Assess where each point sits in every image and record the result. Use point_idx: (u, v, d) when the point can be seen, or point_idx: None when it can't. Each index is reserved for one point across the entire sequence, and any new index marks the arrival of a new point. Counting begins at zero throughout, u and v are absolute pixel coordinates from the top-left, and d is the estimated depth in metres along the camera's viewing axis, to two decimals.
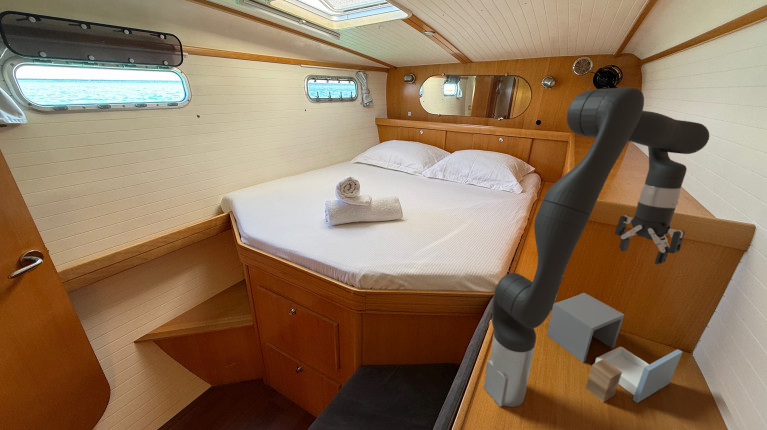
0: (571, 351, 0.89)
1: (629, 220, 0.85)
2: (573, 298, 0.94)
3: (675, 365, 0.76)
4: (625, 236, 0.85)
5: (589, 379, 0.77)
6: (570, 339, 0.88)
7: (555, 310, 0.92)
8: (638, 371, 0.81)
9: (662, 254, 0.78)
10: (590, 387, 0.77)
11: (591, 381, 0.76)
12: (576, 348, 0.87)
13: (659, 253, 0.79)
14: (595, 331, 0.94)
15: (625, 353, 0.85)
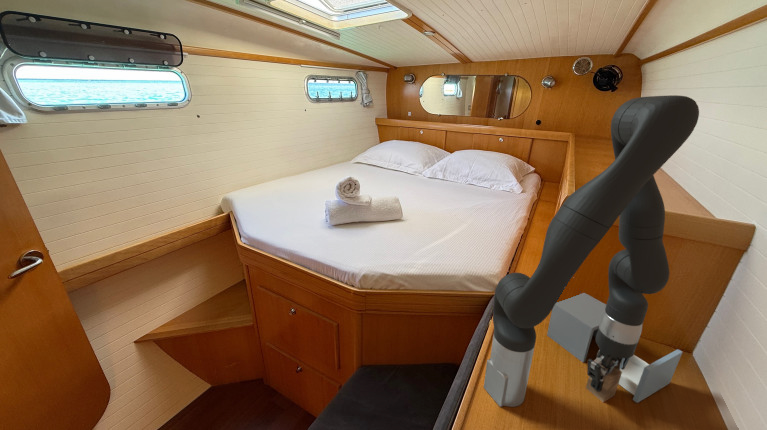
0: (571, 351, 0.89)
1: (600, 362, 0.71)
2: (573, 298, 0.94)
3: (675, 365, 0.76)
4: (604, 377, 0.72)
5: (589, 379, 0.77)
6: (570, 339, 0.88)
7: (555, 310, 0.92)
8: (638, 371, 0.81)
9: None
10: (590, 387, 0.77)
11: None
12: (576, 348, 0.87)
13: None
14: (595, 331, 0.94)
15: None
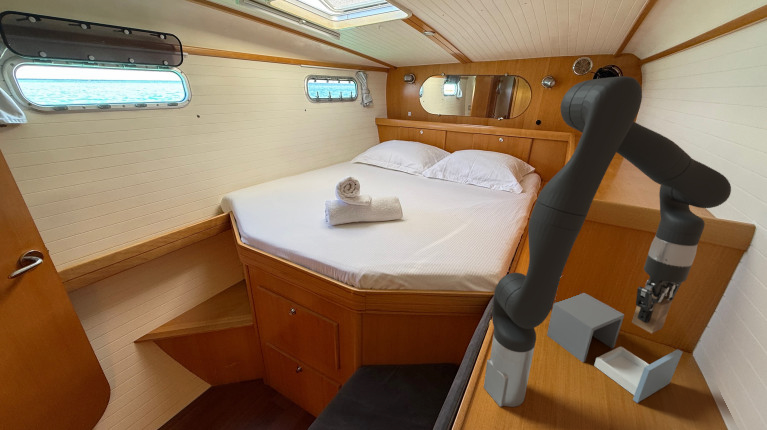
0: (571, 351, 0.89)
1: (651, 289, 0.69)
2: (573, 298, 0.94)
3: (675, 365, 0.76)
4: (654, 306, 0.71)
5: (636, 312, 0.75)
6: (570, 339, 0.88)
7: (555, 310, 0.92)
8: (638, 371, 0.81)
9: None
10: (637, 320, 0.75)
11: None
12: (576, 348, 0.87)
13: None
14: (595, 331, 0.94)
15: (625, 353, 0.85)
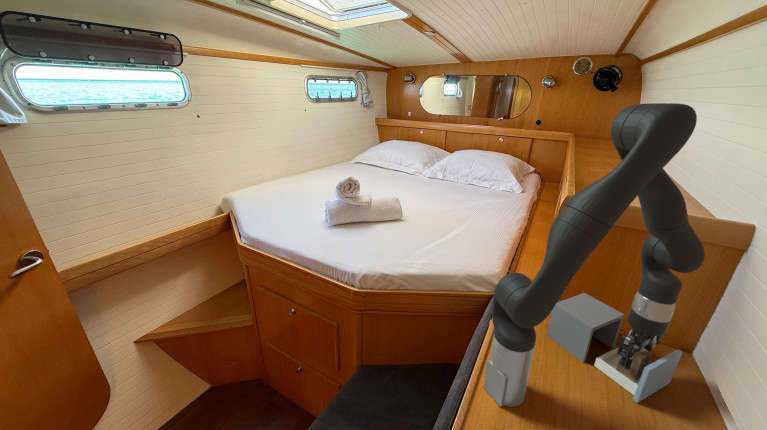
0: (571, 351, 0.89)
1: (634, 339, 0.74)
2: (573, 298, 0.94)
3: (675, 365, 0.76)
4: (634, 355, 0.75)
5: (619, 361, 0.81)
6: (570, 339, 0.88)
7: (555, 310, 0.92)
8: None
9: None
10: (620, 368, 0.81)
11: None
12: (576, 348, 0.87)
13: (650, 350, 0.79)
14: (595, 331, 0.94)
15: None
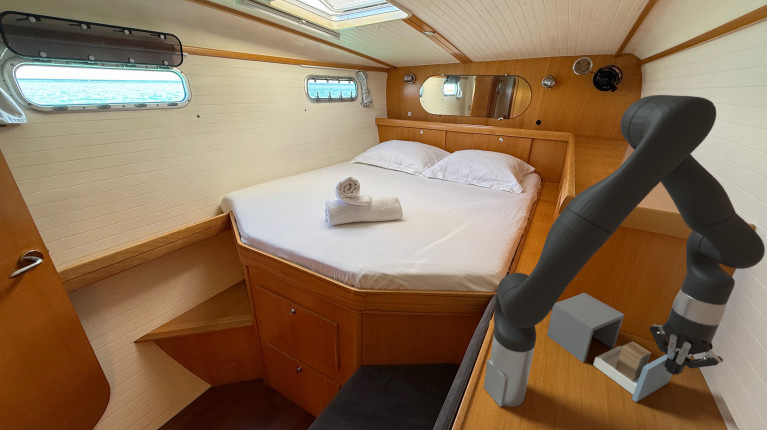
0: (571, 351, 0.89)
1: None
2: (573, 298, 0.94)
3: None
4: None
5: (619, 360, 0.81)
6: (570, 339, 0.88)
7: (555, 310, 0.92)
8: None
9: None
10: (619, 368, 0.81)
11: (621, 362, 0.80)
12: (576, 348, 0.87)
13: None
14: (595, 331, 0.94)
15: None
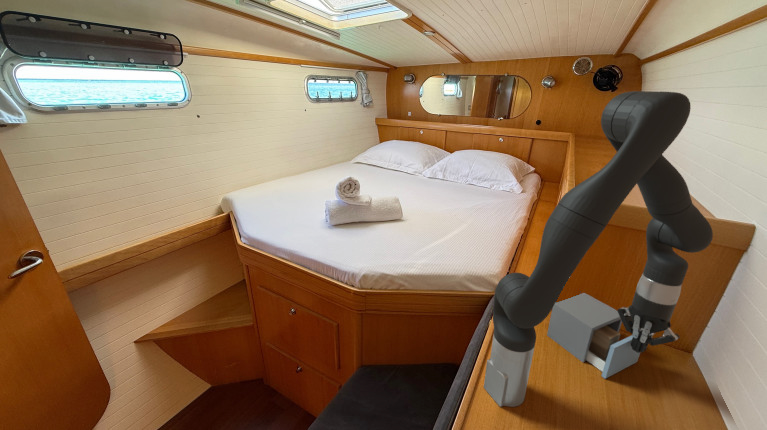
0: (571, 351, 0.89)
1: None
2: (573, 298, 0.94)
3: None
4: None
5: (591, 342, 0.87)
6: (570, 339, 0.88)
7: (555, 310, 0.92)
8: None
9: None
10: (592, 349, 0.87)
11: (593, 343, 0.87)
12: (576, 348, 0.87)
13: None
14: None
15: None
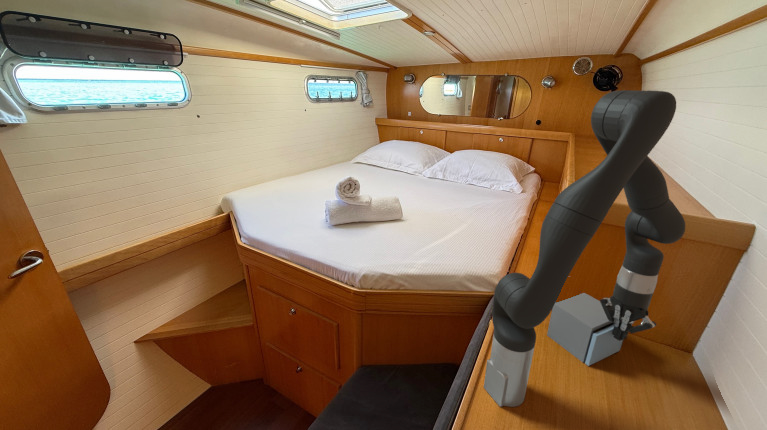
0: (571, 351, 0.89)
1: None
2: (573, 298, 0.94)
3: None
4: None
5: None
6: (570, 339, 0.88)
7: (555, 310, 0.92)
8: None
9: None
10: None
11: None
12: (576, 348, 0.87)
13: None
14: None
15: None
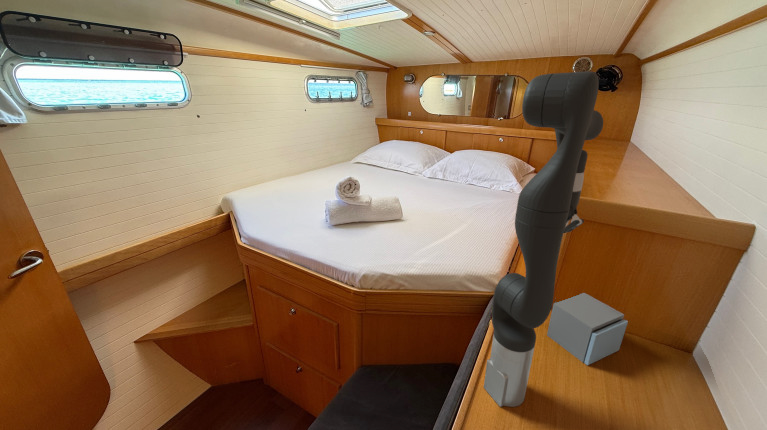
0: (571, 351, 0.89)
1: None
2: (573, 298, 0.94)
3: (622, 333, 0.87)
4: None
5: None
6: (570, 339, 0.88)
7: (555, 310, 0.92)
8: None
9: None
10: None
11: None
12: (576, 348, 0.87)
13: None
14: None
15: None
